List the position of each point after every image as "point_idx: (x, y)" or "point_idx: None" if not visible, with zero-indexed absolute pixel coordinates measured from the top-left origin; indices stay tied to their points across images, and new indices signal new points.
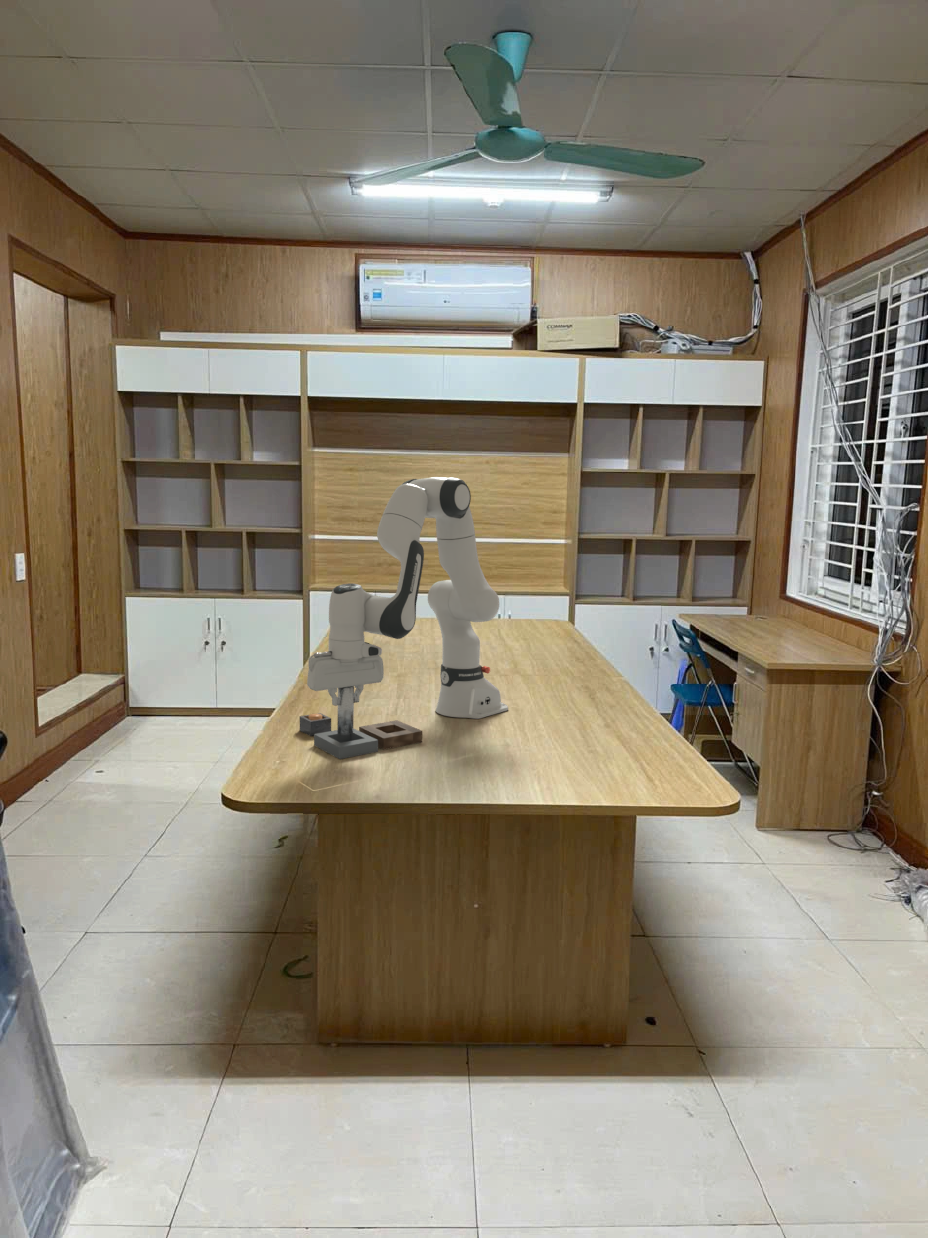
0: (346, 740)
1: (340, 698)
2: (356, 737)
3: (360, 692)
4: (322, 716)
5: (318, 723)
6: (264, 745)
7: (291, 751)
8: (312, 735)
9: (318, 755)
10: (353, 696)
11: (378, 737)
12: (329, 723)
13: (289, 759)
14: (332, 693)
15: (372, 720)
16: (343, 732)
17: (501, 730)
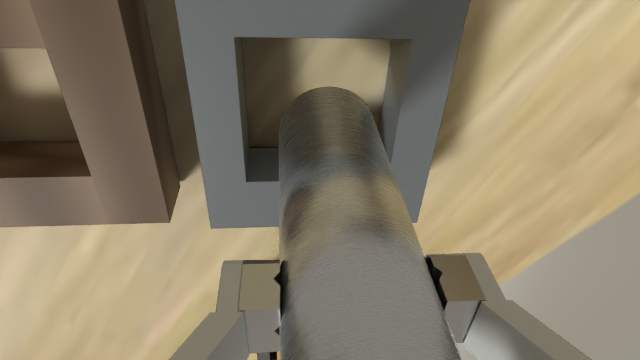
0: (272, 156)
1: (450, 300)
2: (243, 120)
3: (198, 342)
4: (269, 354)
5: None
6: (523, 261)
7: (512, 174)
8: None
9: (473, 74)
10: (308, 298)
11: (128, 31)
12: None
13: (599, 94)
14: (586, 355)
15: (37, 326)
16: (365, 106)
17: None
